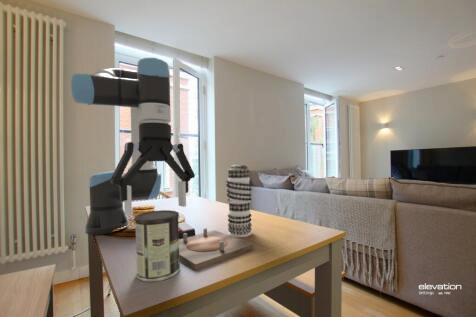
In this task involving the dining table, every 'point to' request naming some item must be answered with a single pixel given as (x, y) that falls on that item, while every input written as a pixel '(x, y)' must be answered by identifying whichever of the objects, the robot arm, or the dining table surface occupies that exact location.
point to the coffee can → (157, 245)
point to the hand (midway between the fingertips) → (157, 210)
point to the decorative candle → (239, 201)
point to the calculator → (185, 230)
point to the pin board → (210, 248)
